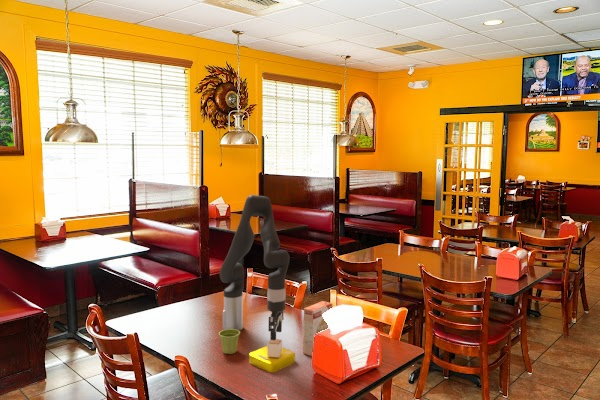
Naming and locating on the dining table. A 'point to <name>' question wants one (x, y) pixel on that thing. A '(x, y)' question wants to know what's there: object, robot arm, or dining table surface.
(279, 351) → the cream brown block
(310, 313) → the cracker box
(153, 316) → the dining table surface
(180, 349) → the dining table surface
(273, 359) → the element tile
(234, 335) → the plant pot
